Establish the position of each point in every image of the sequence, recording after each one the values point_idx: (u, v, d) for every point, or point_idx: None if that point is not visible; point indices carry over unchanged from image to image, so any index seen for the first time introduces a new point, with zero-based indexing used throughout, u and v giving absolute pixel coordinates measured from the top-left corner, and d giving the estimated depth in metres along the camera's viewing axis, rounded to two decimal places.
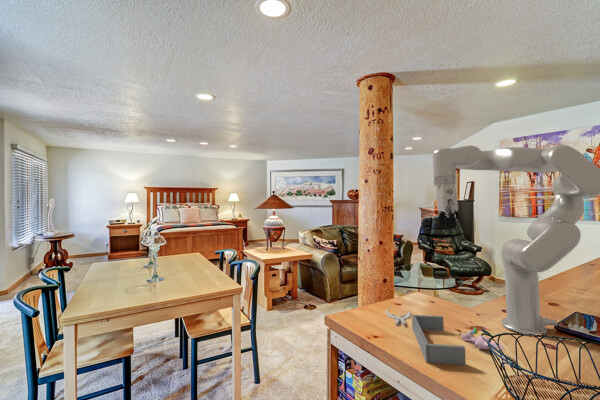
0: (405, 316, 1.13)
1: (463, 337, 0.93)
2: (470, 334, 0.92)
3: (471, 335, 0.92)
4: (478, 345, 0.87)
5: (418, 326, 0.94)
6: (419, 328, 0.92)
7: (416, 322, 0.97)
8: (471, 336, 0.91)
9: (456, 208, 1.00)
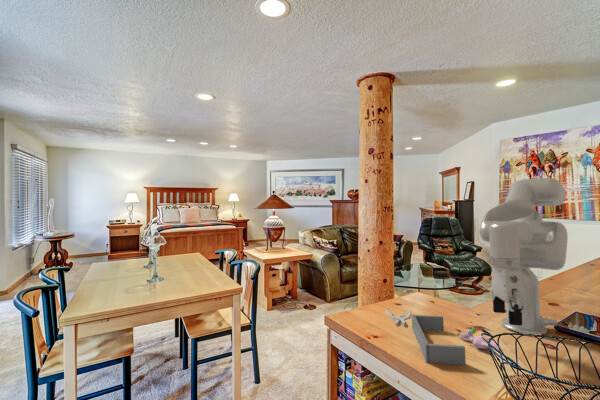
0: (405, 316, 1.13)
1: (461, 336, 0.93)
2: (468, 333, 0.92)
3: (469, 334, 0.92)
4: (476, 344, 0.87)
5: (418, 326, 0.94)
6: (419, 328, 0.92)
7: (416, 322, 0.97)
8: (469, 335, 0.92)
9: None
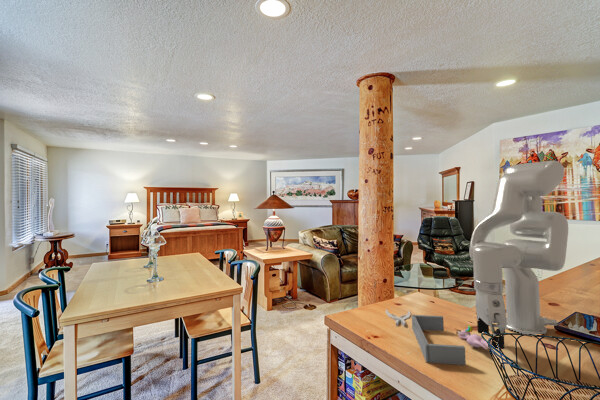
0: (405, 316, 1.13)
1: (459, 334, 0.95)
2: (465, 332, 0.93)
3: (466, 333, 0.93)
4: (469, 342, 0.88)
5: (418, 326, 0.94)
6: (419, 328, 0.92)
7: (416, 322, 0.97)
8: (466, 334, 0.93)
9: (504, 324, 0.83)
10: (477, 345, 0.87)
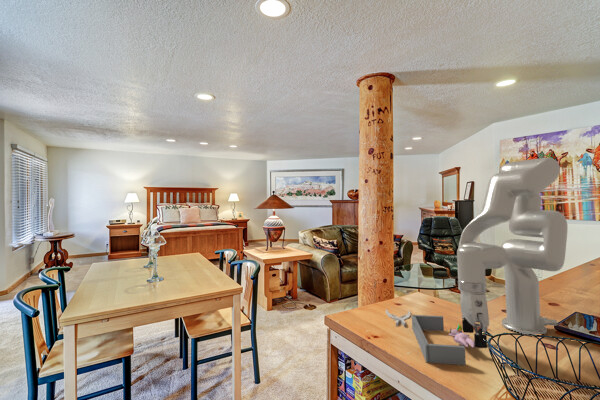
0: (405, 316, 1.13)
1: (451, 332, 0.96)
2: (456, 330, 0.94)
3: (457, 331, 0.94)
4: (455, 340, 0.90)
5: (418, 326, 0.94)
6: (419, 328, 0.92)
7: (416, 322, 0.97)
8: (457, 332, 0.94)
9: (487, 324, 0.84)
10: (462, 343, 0.88)
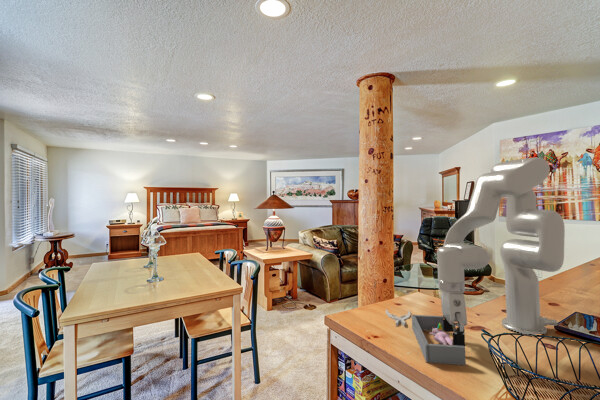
0: (405, 316, 1.13)
1: (432, 331, 0.98)
2: (437, 329, 0.96)
3: (438, 330, 0.96)
4: (435, 339, 0.92)
5: (418, 326, 0.94)
6: (419, 328, 0.92)
7: (416, 322, 0.97)
8: (437, 331, 0.95)
9: (465, 323, 0.85)
10: (442, 342, 0.90)
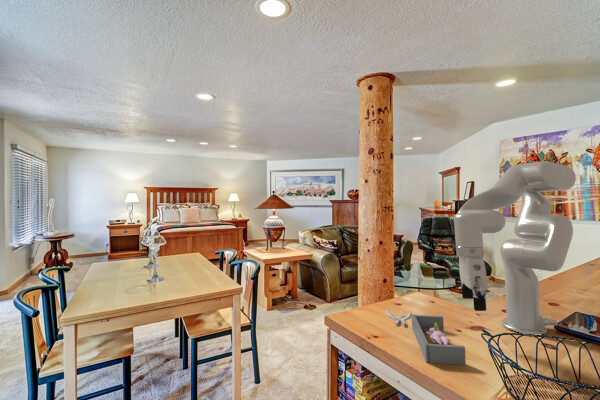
0: (405, 316, 1.13)
1: (429, 331, 0.98)
2: (434, 329, 0.96)
3: (435, 330, 0.96)
4: (431, 338, 0.92)
5: (418, 326, 0.94)
6: (419, 328, 0.92)
7: (416, 322, 0.97)
8: (434, 331, 0.96)
9: (486, 287, 0.84)
10: (437, 341, 0.90)
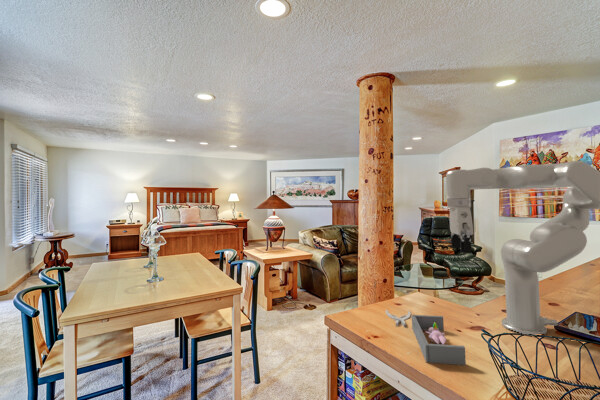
0: (405, 316, 1.13)
1: (428, 330, 0.99)
2: (433, 328, 0.97)
3: (434, 329, 0.97)
4: (430, 337, 0.93)
5: (418, 326, 0.94)
6: (419, 328, 0.92)
7: (416, 322, 0.97)
8: (433, 330, 0.96)
9: (471, 232, 0.97)
10: None
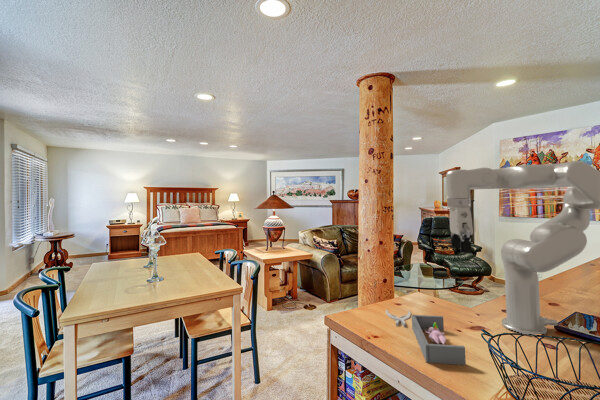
0: (405, 316, 1.13)
1: (428, 330, 0.99)
2: (433, 328, 0.97)
3: (434, 329, 0.97)
4: (430, 337, 0.93)
5: (418, 326, 0.94)
6: (419, 328, 0.92)
7: (416, 322, 0.97)
8: (433, 330, 0.96)
9: (471, 232, 0.97)
10: None
